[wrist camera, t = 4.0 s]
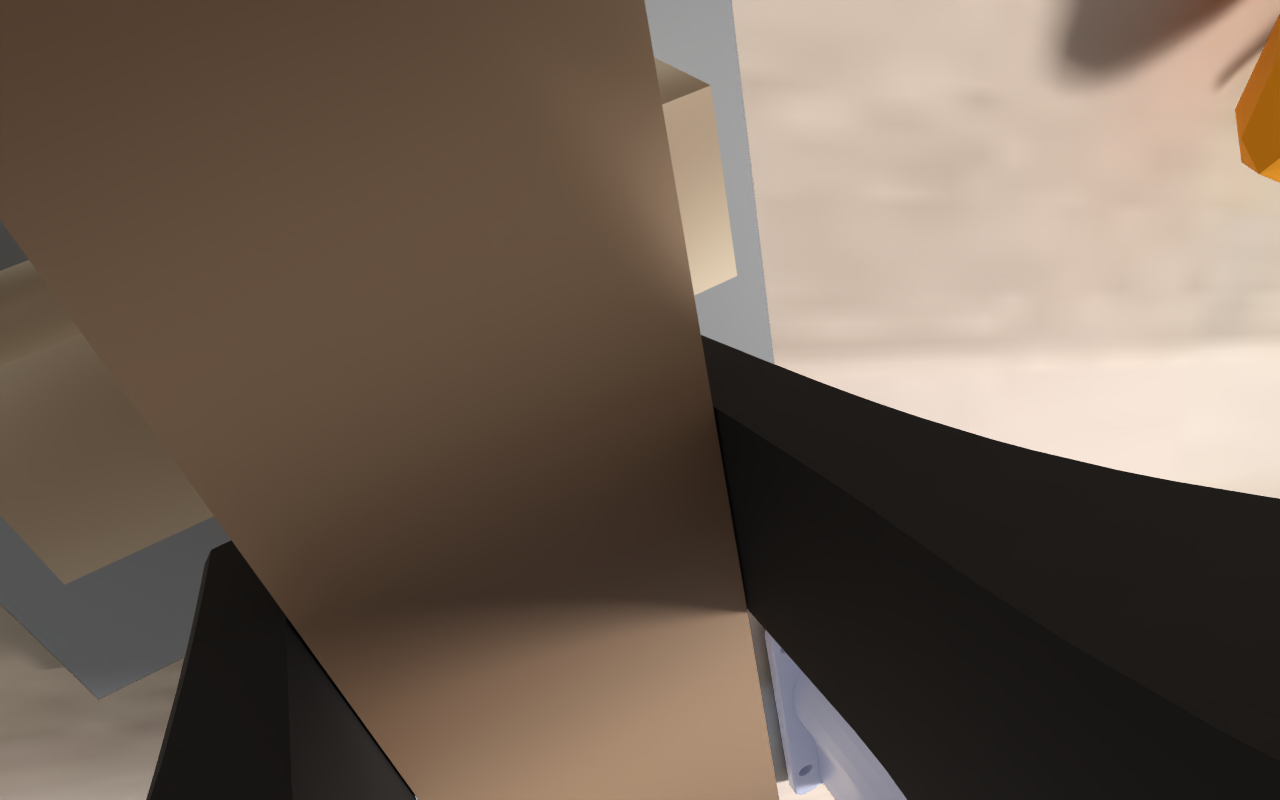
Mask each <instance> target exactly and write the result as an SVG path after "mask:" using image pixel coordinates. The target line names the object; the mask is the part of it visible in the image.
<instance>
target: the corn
mask: <svg viewBox="0 0 1280 800" xmlns="http://www.w3.org/2000/svg"><path fill="white" fill-rule="evenodd" d="M1235 112H1236V121H1237V129H1238V137H1239V145H1240V153H1241V161H1242V163H1244V164H1245V165H1247V166H1248V167H1250V168H1251V169H1253V170H1254V171H1255V172H1257V173H1258V174H1260V175H1263V176H1265V177H1268V178H1270V179H1272V180H1275V181H1277V182H1280V15H1279V17H1278V19H1277V21H1276V23H1275V25H1274V27H1273V30H1272V32H1271V34H1270V36H1269V38H1268V40H1267V42H1266V45H1265V47H1264V49H1263V51H1262V53H1261V55H1260V57H1259V60H1258V62H1257V64H1256V66H1255V68H1254V70H1253V72H1252V75H1251V77H1250V79H1249V81H1248V83H1247V85H1246V87H1245V90H1244V92H1243V94H1242V96H1241V98H1240V100H1239V102H1238V104H1237V107H1236V109H1235Z"/></svg>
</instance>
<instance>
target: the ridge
mask: <svg viewBox="0 0 1280 800" xmlns="http://www.w3.org/2000/svg"><path fill="white" fill-rule="evenodd" d="M654 60H655V66H656V72H657V78H658V84H659V90H660V96H661V101H662V107H663V113H664V119H665V125H666V131H667V137H668V143H669V149H670V155H671V161H672V167H673V173H674V179H675V185H676V190H677V196H678V202H679V208H680V214H681V220H682V226H683V232H684V238H685V244H686V250H687V256H688V262H689V268H690V274H691V280H692V285H693V291H694V295H697V294H699V293H701V292H703V291H705V290H707V289H710V288H712V287H714V286H716V285H718V284H721V283H723V282H725V281H727V280H729V279H731V278H734V277H736V276H737V270H736V263H735V256H734V249H733V241H732V234H731V227H730V220H729V213H728V206H727V199H726V191H725V184H724V177H723V170H722V163H721V156H720V149H719V141H718V134H717V127H716V120H715V113H714V106H713V99H712V91H711V85H709V84H707V83H705V82H703V81H701V80H699V79H697V78H695V77H693V76H691V75H689V74H687V73H685V72H683V71H681V70H679V69H677V68H675V67H673V66H671V65H669V64H667V63H665V62H663V61H661V60H659V59H657V58H655V57H654ZM0 516H1V517H2V518H3V519H4V520H5V521H6V522H7V523H8V525H9V526H10V527H11V528H12V529H13V530H14V531H15V532H16V533H17V534H18V535H19V536H20V537H21V538H22V540H23V541H24V542H25V543H26V544H27V545H28V546H29V547H30V548H31V549H32V550H33V551H34V552H35V554H36V555H37V556H38V557H39V558H40V559H41V560H42V561H43V562H44V563H45V564H46V565H47V566H48V567H49V569H50V570H51V571H52V572H53V573H54V574H55V575H56V576H57V577H58V578H59V579H60V580H61V581H62V582H63V584H64V585H65V584H67V583H69V582H72V581H74V580H76V579H78V578H80V577H82V576H85V575H87V574H89V573H91V572H93V571H96V570H98V569H100V568H102V567H104V566H106V565H109V564H111V563H113V562H115V561H117V560H119V559H122V558H124V557H126V556H128V555H130V554H133V553H135V552H137V551H139V550H141V549H143V548H146V547H148V546H150V545H152V544H154V543H157V542H159V541H161V540H163V539H165V538H167V537H170V536H172V535H174V534H176V533H178V532H180V531H183V530H185V529H187V528H189V527H191V526H194V525H196V524H198V523H200V522H202V521H204V520H207V519H209V518H211V517H213V516H214V515H213V514H212V513H211V511H210V510H209V508H208V507H207V506H206V504H205V503H204V502H203V500H202V499H201V497H200V496H199V495H198V493H197V492H196V490H195V489H194V488H193V486H192V485H191V484H190V482H189V481H188V479H187V478H186V477H185V475H184V474H183V472H182V471H181V470H180V468H179V467H178V466H177V464H176V463H175V461H174V460H173V459H172V457H171V456H170V454H169V453H168V452H167V450H166V449H165V448H164V446H163V445H162V443H161V442H160V441H159V439H158V438H157V436H156V435H155V434H154V432H153V431H152V430H151V428H150V427H149V425H148V424H147V423H146V421H145V420H144V418H143V417H142V416H141V414H140V413H139V412H138V410H137V409H136V407H135V406H134V405H133V403H132V402H131V400H130V399H129V398H128V396H127V395H126V394H125V392H124V391H123V389H122V388H121V387H120V385H119V384H118V382H117V381H116V380H115V378H114V377H113V376H112V374H111V373H110V371H109V370H108V369H107V367H106V366H105V364H104V363H103V362H102V360H101V359H100V358H99V356H98V355H97V353H96V352H95V351H94V349H93V348H92V346H91V345H90V344H89V342H88V341H87V340H86V338H85V337H84V335H83V334H82V333H81V331H80V330H79V328H78V327H77V326H76V324H75V323H74V322H73V320H72V319H71V317H70V316H69V315H68V313H67V312H66V310H65V309H64V308H63V306H62V305H61V304H60V302H59V301H58V299H57V298H56V297H55V295H54V294H53V292H52V291H51V290H50V288H49V287H48V286H47V284H46V283H45V281H44V280H43V279H42V277H41V276H40V274H39V273H38V272H37V270H36V269H35V268H34V266H33V265H32V263H31V262H30V261H29V260H28V261H25V262H22V263H20V264H17V265H14V266H12V267H9V268H6V269H4V270H1V271H0Z"/></svg>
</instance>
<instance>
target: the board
mask: <svg viewBox="0 0 1280 800" xmlns="http://www.w3.org/2000/svg"><path fill="white" fill-rule="evenodd" d="M644 1H645V6H646V12H647V18H648V24H649V30H650V36H651V42H652V48H653V54H654V57H655V58H657V59H659V60H661V61H663V62H665V63H667V64H669V65H671V66H673V67H675V68H677V69H679V70H681V71H683V72H685V73H687V74H689V75H691V76H693V77H695V78H697V79H699V80H701V81H703V82H705V83H707V84H709V85H711V91H712V99H713V106H714V113H715V120H716V127H717V134H718V141H719V149H720V156H721V163H722V170H723V177H724V184H725V191H726V199H727V206H728V213H729V220H730V227H731V234H732V241H733V249H734V256H735V263H736V270H737V276H736V277H734V278H731V279H729V280H727V281H725V282H723V283H721V284H718V285H716V286H714V287H712V288H710V289H707V290H705V291H703V292H701V293H699V294H697V295H694V297H695V303H696V309H697V315H698V321H699V327H700V333H701V335H703V336H705V337H708V338H710V339H713V340H715V341H718V342H720V343H723V344H725V345H728V346H730V347H733V348H735V349H738V350H740V351H742V352H745V353H747V354H750V355H752V356H755V357H757V358H760V359H762V360H765V361H767V362H770V363H772V364H774V357H773V348H772V340H771V331H770V323H769V314H768V306H767V297H766V289H765V280H764V272H763V263H762V255H761V246H760V238H759V229H758V221H757V212H756V204H755V195H754V187H753V178H752V170H751V162H750V153H749V145H748V136H747V128H746V119H745V111H744V102H743V94H742V85H741V77H740V68H739V60H738V51H737V43H736V34H735V26H734V17H733V9H732V0H644ZM28 260H29V259H28V258H27V256H26V255H25V254H24V252H23V251H22V250H21V248H20V247H19V245H18V244H17V243H16V241H15V240H14V238H13V237H12V236H11V234H10V233H9V232H8V230H7V229H6V227H5V226H4V225H3V223H2V222H1V220H0V271H1V270H4V269H6V268H9V267H12V266H14V265H17V264H20V263H22V262H25V261H28ZM229 541H231V539H230V538H229V536H228V535H227V533H226V532H225V531H224V529H223V528H222V526H221V525H220V524H219V522H218V521H217V520H216V518H215V517H214V516H213V517H211V518H209V519H207V520H204V521H202V522H200V523H198V524H196V525H194V526H191V527H189V528H187V529H185V530H183V531H180V532H178V533H176V534H174V535H172V536H170V537H167V538H165V539H163V540H161V541H159V542H157V543H154V544H152V545H150V546H148V547H146V548H143V549H141V550H139V551H137V552H135V553H133V554H130V555H128V556H126V557H124V558H122V559H119V560H117V561H115V562H113V563H111V564H109V565H106V566H104V567H102V568H100V569H98V570H96V571H93V572H91V573H89V574H87V575H85V576H82V577H80V578H78V579H76V580H74V581H72V582H69V583H67V584H65V585H64V584H63V582H62V581H61V580H60V579H59V578H58V577H57V576H56V575H55V574H54V573H53V572H52V571H51V570H50V569H49V567H48V566H47V565H46V564H45V563H44V562H43V561H42V560H41V559H40V558H39V557H38V556H37V555H36V554H35V552H34V551H33V550H32V549H31V548H30V547H29V546H28V545H27V544H26V543H25V542H24V541H23V540H22V538H21V537H20V536H19V535H18V534H17V533H16V532H15V531H14V530H13V529H12V528H11V527H10V526H9V525H8V523H7V522H6V521H5V520H4V519H3V518H2V517H1V516H0V604H1V605H2V606H3V607H4V608H5V609H6V610H7V611H8V612H9V613H10V614H11V615H12V616H13V617H14V618H15V619H16V620H17V621H18V622H20V623H21V624H22V625H23V626H24V627H25V628H26V629H27V630H28V631H29V632H30V633H31V634H32V635H33V636H34V637H35V638H36V639H37V640H38V641H39V642H40V643H41V644H42V645H43V646H44V647H45V648H46V649H47V650H48V651H49V652H50V653H51V654H52V655H53V656H54V657H55V658H56V659H57V660H58V661H59V662H61V663H62V664H63V665H64V666H65V667H66V668H67V669H68V670H69V671H70V672H71V673H72V674H73V675H74V676H75V677H76V678H77V679H78V680H79V681H80V682H81V683H82V684H83V685H84V686H85V687H86V688H87V689H88V690H89V691H90V692H91V693H92V694H93V695H94V696H95V697H96V698H97V699H100V698H102V697H104V696H107V695H109V694H111V693H113V692H115V691H117V690H119V689H121V688H123V687H125V686H127V685H129V684H131V683H133V682H135V681H137V680H139V679H141V678H143V677H145V676H147V675H149V674H151V673H153V672H155V671H157V670H159V669H161V668H163V667H165V666H167V665H169V664H171V663H173V662H175V661H177V660H179V659H181V658H183V657H185V654H186V650H187V646H188V641H189V637H190V633H191V628H192V623H193V619H194V614H195V609H196V605H197V600H198V595H199V590H200V585H201V580H202V575H203V570H204V565H205V562H206V560H207V558H208V556H209V553H210V551H211V550H212V549H214V548H216V547H218V546H220V545H222V544H224V543H226V542H229Z"/></svg>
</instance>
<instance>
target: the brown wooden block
mask: <svg viewBox="0 0 1280 800" xmlns="http://www.w3.org/2000/svg"><path fill="white" fill-rule="evenodd" d="M0 220H1V222H2V223H3V225H4V226H5V227H6V229H7V230H8V232H9V233H10V234H11V236H12V237H13V238H14V240H15V241H16V243H17V244H18V245H19V247H20V248H21V250H22V251H23V252H24V254H25V255H26V256H27V258H28V259H29V261H30V262H31V263H32V265H33V266H34V268H35V269H36V270H37V272H38V273H39V274H40V276H41V277H42V279H43V280H44V281H45V283H46V284H47V286H48V287H49V288H50V290H51V291H52V292H53V294H54V295H55V297H56V298H57V299H58V301H59V302H60V304H61V305H62V306H63V308H64V309H65V310H66V312H67V313H68V315H69V316H70V317H71V319H72V320H73V322H74V323H75V324H76V326H77V327H78V328H79V330H80V331H81V333H82V334H83V335H84V337H85V338H86V340H87V341H88V342H89V344H90V345H91V346H92V348H93V349H94V351H95V352H96V353H97V355H98V356H99V358H100V359H101V360H102V362H103V363H104V364H105V366H106V367H107V369H108V370H109V371H110V373H111V374H112V376H113V377H114V378H115V380H116V381H117V382H118V384H119V385H120V387H121V388H122V389H123V391H124V392H125V394H126V395H127V396H128V398H129V399H130V400H131V402H132V403H133V405H134V406H135V407H136V409H137V410H138V412H139V413H140V414H141V416H142V417H143V418H144V420H145V421H146V423H147V424H148V425H149V427H150V428H151V430H152V431H153V432H154V434H155V435H156V436H157V438H158V439H159V441H160V442H161V443H162V445H163V446H164V448H165V449H166V450H167V452H168V453H169V454H170V456H171V457H172V459H173V460H174V461H175V463H176V464H177V466H178V467H179V468H180V470H181V471H182V472H183V474H184V475H185V477H186V478H187V479H188V481H189V482H190V484H191V485H192V486H193V488H194V489H195V490H196V492H197V493H198V495H199V496H200V497H201V499H202V500H203V502H204V503H205V504H206V506H207V507H208V508H209V510H210V511H211V513H212V514H213V515H214V517H215V518H216V520H217V521H218V522H219V524H220V525H221V526H222V528H223V529H224V531H225V532H226V533H227V535H228V536H229V538H230V539H231V540H232V542H233V543H234V544H235V546H236V547H237V549H238V550H239V551H240V553H241V554H242V556H243V557H244V558H245V560H246V561H247V562H248V564H249V565H250V567H251V568H252V569H253V571H254V572H255V574H256V575H257V576H258V578H259V579H260V580H261V582H262V583H263V585H264V586H265V587H266V589H267V590H268V592H269V593H270V594H271V596H272V597H273V598H274V600H275V601H276V603H277V604H278V605H279V607H280V608H281V610H282V611H283V612H284V614H285V615H286V616H287V618H288V619H289V621H290V622H291V623H292V625H293V626H294V628H295V629H296V630H297V632H298V633H299V634H300V636H301V637H302V639H303V640H304V641H305V643H306V644H307V646H308V647H309V648H310V650H311V651H312V652H313V654H314V655H315V657H316V658H317V659H318V661H319V662H320V664H321V665H322V666H323V668H324V669H325V670H326V672H327V673H328V675H329V676H330V677H331V679H332V680H333V682H334V683H335V684H336V686H337V687H338V688H339V690H340V691H341V693H342V694H343V695H344V697H345V698H346V700H347V701H348V702H349V704H350V705H351V706H352V708H353V709H354V711H355V712H356V713H357V715H358V716H359V718H360V719H361V720H362V722H363V723H364V724H365V726H366V727H367V729H368V730H369V731H370V733H371V734H372V736H373V737H374V738H375V740H376V741H377V742H378V744H379V745H380V747H381V748H382V749H383V751H384V752H385V754H386V755H387V756H388V758H389V759H390V760H391V762H392V763H393V765H394V766H395V767H396V769H397V770H398V772H399V773H400V774H401V776H402V777H403V778H404V780H405V781H406V783H407V784H408V785H409V787H410V788H411V790H412V791H413V792H414V794H415V795H416V796H417V798H418V799H419V800H779V796H778V790H777V784H776V778H775V772H774V766H773V760H772V754H771V748H770V742H769V737H768V731H767V725H766V719H765V713H764V707H763V701H762V695H761V689H760V683H759V677H758V671H757V665H756V659H755V653H754V648H753V642H752V636H751V630H750V624H749V618H748V612H747V606H746V600H745V594H744V588H743V582H742V576H741V570H740V564H739V558H738V553H737V547H736V541H735V535H734V529H733V523H732V517H731V511H730V505H729V499H728V493H727V487H726V481H725V475H724V469H723V464H722V458H721V452H720V446H719V440H718V434H717V428H716V422H715V416H714V410H713V404H712V398H711V392H710V386H709V380H708V374H707V369H706V363H705V357H704V351H703V345H702V339H701V333H700V327H699V321H698V315H697V309H696V303H695V297H694V291H693V285H692V280H691V274H690V268H689V262H688V256H687V250H686V244H685V238H684V232H683V226H682V220H681V214H680V208H679V202H678V196H677V190H676V185H675V179H674V173H673V167H672V161H671V155H670V149H669V143H668V137H667V131H666V125H665V119H664V113H663V107H662V101H661V96H660V90H659V84H658V78H657V72H656V66H655V60H654V54H653V48H652V42H651V36H650V30H649V24H648V18H647V12H646V6H645V1H644V0H0Z"/></svg>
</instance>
